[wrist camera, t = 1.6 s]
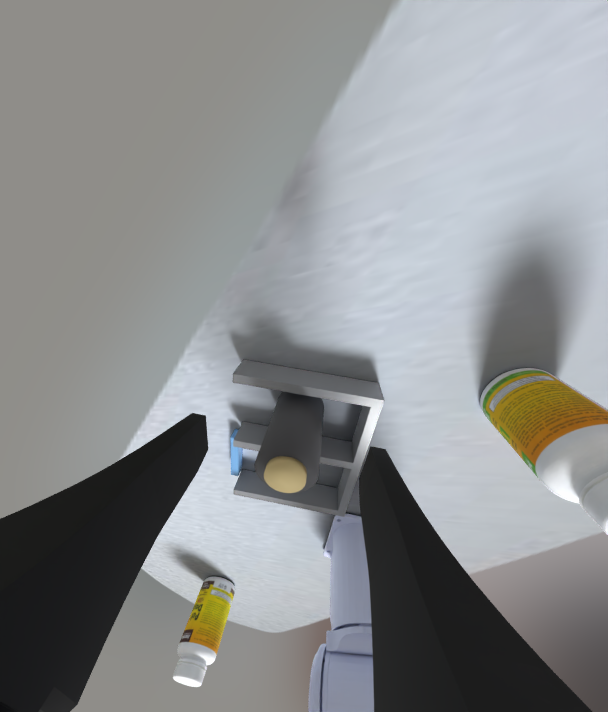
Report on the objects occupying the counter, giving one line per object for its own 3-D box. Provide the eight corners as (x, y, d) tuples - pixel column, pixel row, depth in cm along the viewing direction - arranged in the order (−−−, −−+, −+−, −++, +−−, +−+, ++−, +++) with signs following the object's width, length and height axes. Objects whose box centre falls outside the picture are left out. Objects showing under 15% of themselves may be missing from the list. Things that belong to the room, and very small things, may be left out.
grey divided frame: (343, 494, 27) (344, 517, 25) (235, 472, 28) (226, 492, 25) (379, 382, 20) (384, 400, 18) (234, 357, 21) (222, 372, 19)
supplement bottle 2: (463, 404, 20) (558, 528, 12) (514, 354, 18) (682, 462, 9) (515, 430, 21) (644, 567, 12) (572, 384, 18) (784, 514, 10)
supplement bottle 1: (211, 570, 39) (173, 671, 30) (241, 583, 40) (213, 685, 31) (200, 582, 42) (161, 678, 33) (228, 594, 42) (199, 691, 33)
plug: (319, 428, 23) (313, 506, 17) (275, 420, 24) (251, 493, 17) (327, 391, 21) (323, 462, 15) (279, 383, 22) (253, 448, 15)
